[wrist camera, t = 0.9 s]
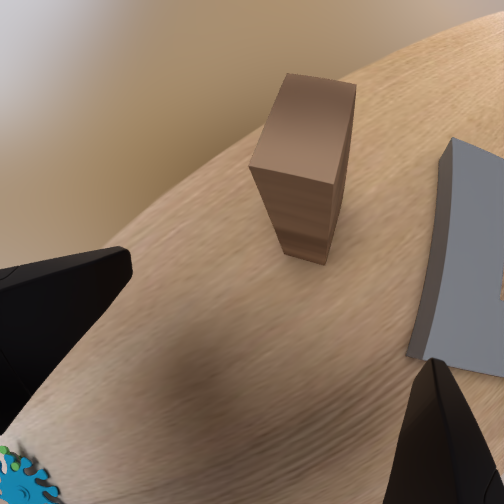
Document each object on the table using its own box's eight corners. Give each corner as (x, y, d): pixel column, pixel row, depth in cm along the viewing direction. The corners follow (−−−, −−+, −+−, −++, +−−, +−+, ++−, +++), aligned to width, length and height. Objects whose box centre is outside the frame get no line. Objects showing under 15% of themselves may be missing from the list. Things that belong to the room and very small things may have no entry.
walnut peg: (324, 265, 21) (333, 184, 9) (284, 254, 22) (248, 165, 10) (341, 202, 22) (356, 84, 10) (303, 192, 22) (286, 73, 11)
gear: (74, 529, 16) (3, 531, 10) (78, 519, 20) (15, 522, 14) (39, 443, 21) (-29, 445, 15) (48, 444, 25) (-13, 447, 19)
